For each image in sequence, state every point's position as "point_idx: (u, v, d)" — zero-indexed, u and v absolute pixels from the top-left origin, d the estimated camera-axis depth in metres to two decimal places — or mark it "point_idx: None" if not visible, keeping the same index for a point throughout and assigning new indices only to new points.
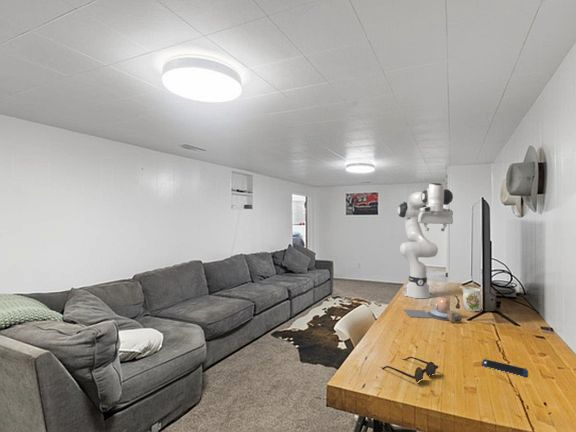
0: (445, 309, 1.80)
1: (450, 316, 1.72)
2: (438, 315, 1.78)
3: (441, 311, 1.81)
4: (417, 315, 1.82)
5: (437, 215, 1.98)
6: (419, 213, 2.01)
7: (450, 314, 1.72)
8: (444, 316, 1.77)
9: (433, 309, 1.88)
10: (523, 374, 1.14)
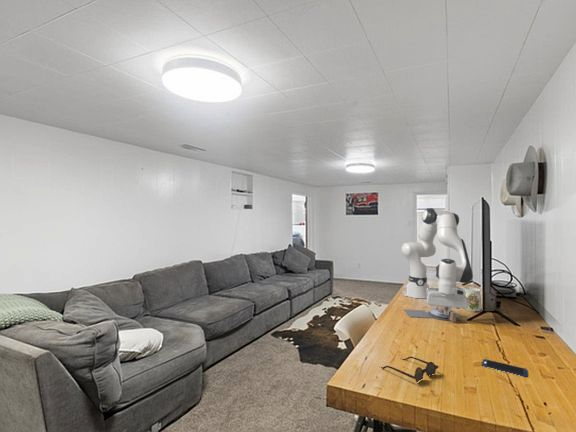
0: (445, 309, 1.80)
1: (451, 316, 1.72)
2: (439, 315, 1.78)
3: (441, 311, 1.81)
4: (417, 315, 1.82)
5: None
6: (466, 297, 1.71)
7: (451, 314, 1.72)
8: (445, 316, 1.76)
9: (433, 309, 1.88)
10: (523, 374, 1.14)
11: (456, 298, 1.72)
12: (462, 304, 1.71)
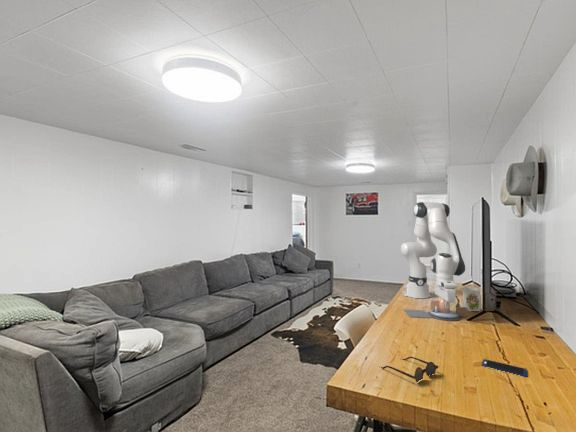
0: None
1: (464, 312, 1.81)
2: (456, 316, 1.78)
3: (449, 311, 1.81)
4: (417, 315, 1.82)
5: None
6: (449, 291, 1.74)
7: (464, 310, 1.81)
8: None
9: (438, 313, 1.79)
10: (523, 374, 1.14)
11: (444, 291, 1.79)
12: (446, 297, 1.76)
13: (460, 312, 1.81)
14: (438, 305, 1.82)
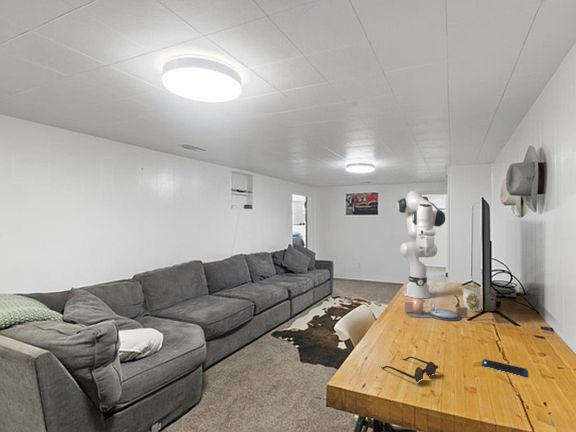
0: None
1: (464, 312, 1.81)
2: (456, 316, 1.78)
3: (422, 313, 1.84)
4: (417, 315, 1.82)
5: None
6: (428, 237, 1.80)
7: (464, 310, 1.81)
8: None
9: (438, 313, 1.79)
10: (523, 374, 1.14)
11: (424, 238, 1.85)
12: (425, 244, 1.82)
13: (460, 312, 1.81)
14: (412, 306, 1.86)
